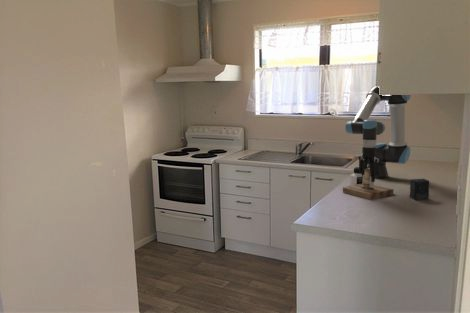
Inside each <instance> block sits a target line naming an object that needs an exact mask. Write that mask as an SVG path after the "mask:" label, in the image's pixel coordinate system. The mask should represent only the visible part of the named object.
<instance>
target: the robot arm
mask: <svg viewBox="0 0 470 313" xmlns="http://www.w3.org/2000/svg"><path fill="white" fill-rule="evenodd" d="M411 95H412V94H411ZM411 95H392V96H382V95H379V88H378V87H376V85H375V86H373V87H372V88H371V89H370V90H369V91H368V92H367V93H366V96H365V100H364V102H363V103H362V105H361V107H360V109H359V110H358V112H357V113H356V115H355V116H354V118H353V120H352V121H351V120H350V121H347V122H346V123H345V129H344V130H345V132H346V133H347V134H352V135H362V145H361V146H362V147H361V153H362V155H359V156H358V162H359V163H358V167H359V173H361V174H362V180H363V182H362V186H364V169H365V168H370V172H371V176H370V186H369V187H370V188H371V187H374V185H375V184H374V183H375V181H376V179H385V178H388V177H389V173H388V169H387V166H386V165H387V163H390V164H391V163H392V164H397V165H401V164H406V163H407V162H408V161H409V159H410V156H411V147H410V146H408V143H407V142H406V141H405V135H406V131H405V129H406V128H405V126H406V125H405V123H406V122H405V121H406V120H405V114H406V113H405V110H406V109H405V107H406V105H407V103H408V101H410V99H411V97H412V96H411ZM383 101H386V102H387V104H388V105H389V106H390V113H389V114H390V141H389V143H388V144H387V143H386V142H377V136H379V135H381V134H383V133H384V132H385V131H386V126H385V124H384V123H383V122H381V121H377V120H376V119H370V116H371V115H372V113H373V112H374V110H375V108H376V106H377V105H379V104H380V102H383Z"/></svg>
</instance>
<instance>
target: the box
mask: <svg viewBox="0 0 470 313" xmlns="http://www.w3.org/2000/svg"><path fill="white" fill-rule="evenodd" d="M429 190H430V180H428V179H425V178H413V179H412V178H411V179H410V184H409V198H410V199H412V200H414V201H418V200H419V201H420V200H421V201H422V200H423V201H424V200H429V196H430V194H429V193H430V191H429Z"/></svg>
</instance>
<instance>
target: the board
mask: <svg viewBox="0 0 470 313" xmlns="http://www.w3.org/2000/svg"><path fill="white" fill-rule="evenodd" d="M394 190H395V188H390V187H386V186H381V185H377V184H374V187H372V189H371V190H367V189H364V186H362V184H357V185H352V186H351V185H347V186H343V187H342V193H344V192H345V193H344V194H347V193H348V195H351V194H352V195H353V196H355V197H359V198H363V199H366V200H374V199H378V198H382V197H387V196H391V195H394V194H395V191H394Z"/></svg>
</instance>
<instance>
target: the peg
mask: <svg viewBox="0 0 470 313" xmlns="http://www.w3.org/2000/svg"><path fill="white" fill-rule="evenodd" d="M370 176H371V172H370V168H365V169H364V189H367V190H371V189H372V187H371V188H370V187H369V186H370Z"/></svg>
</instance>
